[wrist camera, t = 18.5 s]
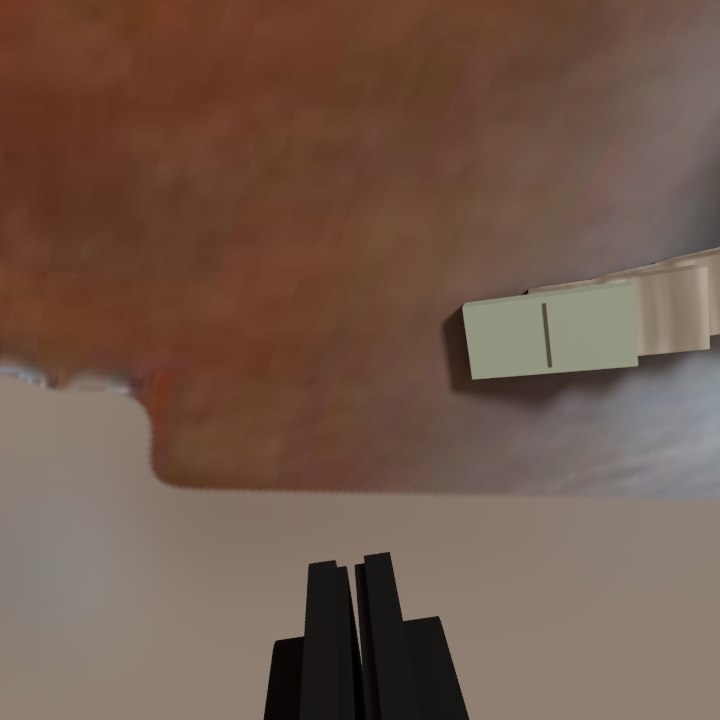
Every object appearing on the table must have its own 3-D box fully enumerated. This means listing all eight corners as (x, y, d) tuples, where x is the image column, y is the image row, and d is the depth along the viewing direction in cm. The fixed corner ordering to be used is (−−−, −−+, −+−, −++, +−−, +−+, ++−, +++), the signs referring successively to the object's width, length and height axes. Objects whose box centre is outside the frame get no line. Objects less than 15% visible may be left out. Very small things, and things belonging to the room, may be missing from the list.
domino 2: (536, 365, 34) (709, 349, 31) (528, 293, 33) (707, 267, 29) (536, 358, 36) (701, 341, 32) (528, 288, 34) (699, 264, 31)
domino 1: (472, 379, 34) (638, 366, 31) (462, 307, 33) (633, 285, 29) (474, 371, 36) (633, 358, 32) (465, 302, 34) (628, 281, 31)
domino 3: (607, 353, 34) (788, 322, 30) (594, 281, 33) (780, 240, 29) (603, 346, 36) (776, 316, 32) (591, 277, 34) (768, 238, 31)
